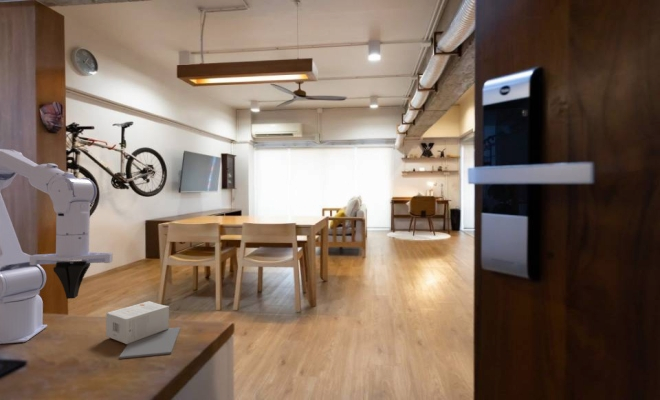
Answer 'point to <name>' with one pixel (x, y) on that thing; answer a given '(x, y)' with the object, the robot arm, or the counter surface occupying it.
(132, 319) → the small box
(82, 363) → the counter surface
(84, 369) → the counter surface
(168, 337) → the gray mat
